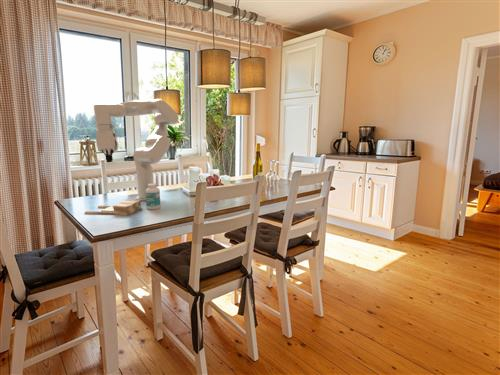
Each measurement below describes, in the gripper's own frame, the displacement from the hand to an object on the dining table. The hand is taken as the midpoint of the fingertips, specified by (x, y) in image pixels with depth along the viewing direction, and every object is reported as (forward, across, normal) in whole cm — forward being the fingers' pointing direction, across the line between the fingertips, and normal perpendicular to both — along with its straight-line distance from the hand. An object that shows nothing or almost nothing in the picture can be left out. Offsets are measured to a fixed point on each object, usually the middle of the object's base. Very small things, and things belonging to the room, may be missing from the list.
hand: (109, 161), depth 168 cm
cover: (+26, -8, +10) cm, 29 cm away
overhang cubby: (+25, -4, +10) cm, 27 cm away
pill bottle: (+26, -23, +2) cm, 35 cm away
